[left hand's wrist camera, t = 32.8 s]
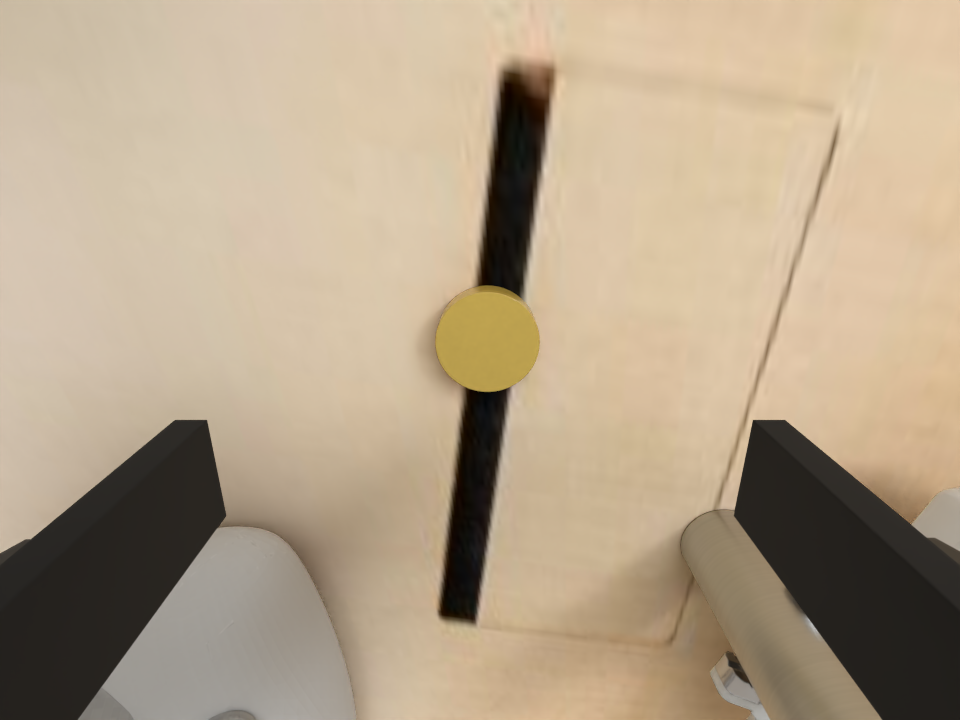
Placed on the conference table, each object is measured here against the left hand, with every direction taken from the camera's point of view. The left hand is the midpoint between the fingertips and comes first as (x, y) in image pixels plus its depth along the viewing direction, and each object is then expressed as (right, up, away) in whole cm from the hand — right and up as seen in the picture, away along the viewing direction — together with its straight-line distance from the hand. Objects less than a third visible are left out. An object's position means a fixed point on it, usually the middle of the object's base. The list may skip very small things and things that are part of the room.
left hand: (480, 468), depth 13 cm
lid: (0, +4, +13) cm, 14 cm away
